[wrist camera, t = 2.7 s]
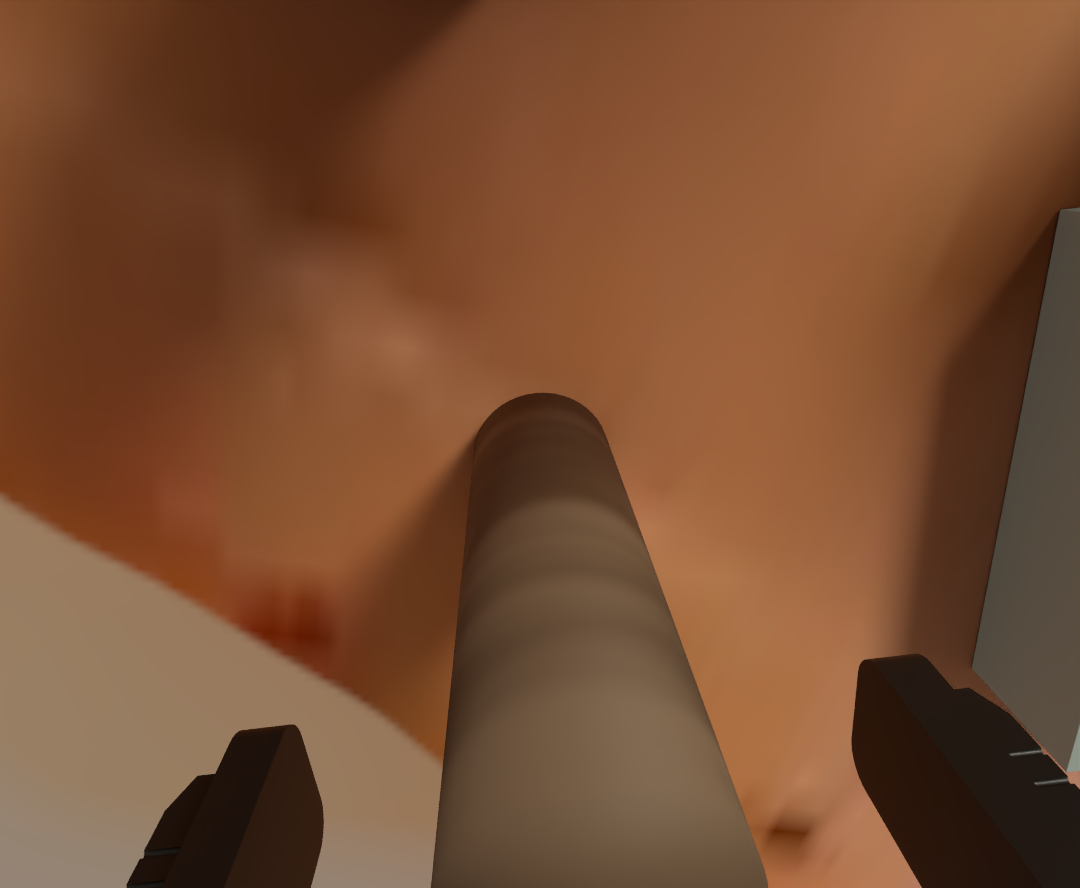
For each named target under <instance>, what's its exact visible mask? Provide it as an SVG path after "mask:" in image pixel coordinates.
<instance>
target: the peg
mask: <svg viewBox="0 0 1080 888" xmlns="http://www.w3.org/2000/svg"><path fill="white" fill-rule="evenodd" d="M439 802H440V803H439V812H438V822H437V832H436V843H435V852H434V862H433V873H432V883H431V888H768V882H767V878H766V874H765V870H764V867H763V864H762V862H761V859H760V856H759V853H758V851H757V848H756V845H755V843H754V840H753V837H752V834H751V832H750V829H749V826H748V823H747V821H746V818H745V815H744V812H743V810H742V807H741V804H740V802H739V799H738V796H737V793H736V791H735V788H734V785H733V782H732V780H731V777H730V774H729V771H728V769H727V766H726V763H725V761H724V758H723V755H722V752H721V750H720V747H719V744H718V741H717V739H716V736H715V733H714V730H713V728H712V725H711V722H710V720H709V717H708V714H707V711H706V709H705V706H704V703H703V700H702V698H701V695H700V692H699V690H698V687H697V684H696V681H695V679H694V676H693V673H692V670H691V668H690V665H689V662H688V659H687V657H686V654H685V651H684V649H683V646H682V643H681V640H680V638H679V635H678V632H677V629H676V627H675V624H674V621H673V618H672V616H671V613H670V610H669V608H668V605H667V602H666V599H665V597H664V594H663V591H662V588H661V586H660V583H659V580H658V577H657V575H656V572H655V569H654V567H653V564H652V561H651V558H650V556H649V553H648V550H647V547H646V545H645V542H644V539H643V536H642V534H641V531H640V528H639V526H638V523H637V520H636V517H635V515H634V512H633V509H632V506H631V504H630V501H629V498H628V495H627V493H626V490H625V487H624V485H623V482H622V479H621V476H620V474H619V471H618V468H617V465H616V463H615V460H614V457H613V455H612V452H611V449H610V446H609V444H608V441H607V438H606V435H605V433H604V431H603V428H602V426H601V425H600V423H599V421H598V420H597V419H596V417H595V416H594V415H593V414H592V413H591V412H590V411H589V410H588V409H587V408H586V407H584V406H583V405H581V404H580V403H578V402H576V401H574V400H572V399H570V398H568V397H565V396H562V395H557V394H551V393H534V394H528V395H524V396H520V397H517V398H515V399H512V400H510V401H508V402H507V403H505V404H503V405H502V406H500V407H499V408H498V409H496V410H495V411H494V412H493V413H492V414H491V415H490V416H489V417H488V418H487V420H486V421H485V423H484V424H483V426H482V427H481V429H480V431H479V433H478V436H477V439H476V443H475V447H474V457H473V467H472V477H471V487H470V497H469V507H468V517H467V528H466V538H465V548H464V558H463V568H462V578H461V588H460V599H459V609H458V619H457V629H456V639H455V649H454V659H453V670H452V680H451V690H450V700H449V710H448V720H447V730H446V740H445V751H444V761H443V771H442V781H441V791H440V801H439Z"/></svg>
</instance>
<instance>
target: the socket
mask: <svg viewBox="0 0 1080 888" xmlns="http://www.w3.org/2000/svg"><path fill="white" fill-rule="evenodd" d="M972 669H973V670H974V672H975V673H976V674H977V675H978V676H979V677H980V678H981V679H982V680H983V681H984V683H985V684H986V685H987V686H988V687H989V688H990V689H991V690H992V691H993V692H994V693H995V695H996V696H997V697H998V698H999V699H1000V700H1001V701H1002V702H1003V703H1004V704H1005V706H1006V707H1007V708H1008V709H1009V710H1010V711H1011V712H1012V713H1013V714H1014V715H1015V716H1016V718H1017V719H1018V720H1019V721H1020V722H1021V723H1022V724H1023V725H1024V726H1025V727H1026V729H1027V730H1028V731H1029V732H1030V733H1031V734H1032V735H1033V736H1034V737H1035V738H1036V739H1037V741H1038V742H1039V743H1040V744H1041V745H1042V746H1043V747H1044V748H1045V749H1046V750H1047V752H1048V753H1049V754H1050V755H1051V756H1052V757H1053V758H1054V759H1055V760H1056V761H1057V762H1058V764H1059V765H1060V766H1061V767H1062V768H1063V769H1064V770H1065V771H1066V772H1073V771H1080V208H1072V209H1062V210H1060V213H1059V218H1058V223H1057V228H1056V233H1055V239H1054V244H1053V249H1052V254H1051V259H1050V265H1049V270H1048V275H1047V280H1046V285H1045V291H1044V296H1043V301H1042V306H1041V311H1040V317H1039V322H1038V327H1037V332H1036V337H1035V342H1034V348H1033V353H1032V358H1031V363H1030V368H1029V374H1028V379H1027V384H1026V389H1025V394H1024V400H1023V405H1022V410H1021V415H1020V420H1019V425H1018V431H1017V436H1016V441H1015V446H1014V451H1013V457H1012V462H1011V467H1010V472H1009V477H1008V483H1007V488H1006V493H1005V498H1004V503H1003V508H1002V514H1001V519H1000V524H999V529H998V534H997V540H996V545H995V550H994V555H993V560H992V566H991V571H990V576H989V581H988V586H987V591H986V597H985V602H984V607H983V612H982V617H981V623H980V628H979V633H978V638H977V643H976V649H975V654H974V659H973V664H972Z"/></svg>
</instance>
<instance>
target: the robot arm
mask: <svg viewBox="0 0 1080 888" xmlns="http://www.w3.org/2000/svg"><path fill="white" fill-rule="evenodd" d="M852 752H853V758H854V762H855V766H856V769H857V772H858V775H859V778H860V780H861V782H862V785H863V787H864V788H865V790H866V792H867V794H868V796H869V797H870V799H871V801H872V802H873V804H874V806H875V808H876V809H877V811H878V813H879V814H880V816H881V818H882V820H883V821H884V823H885V825H886V827H887V828H888V830H889V832H890V833H891V835H892V837H893V839H894V840H895V842H896V844H897V845H898V847H899V849H900V851H901V852H902V854H903V856H904V858H905V859H906V861H907V863H908V864H909V866H910V868H911V870H912V871H913V873H914V875H915V876H916V878H917V880H918V882H919V883H920V885H921V887H922V888H1080V789H1079V788H1078V787H1077V786H1076V785H1075V784H1070V783H1069V781H1068V778H1067V775H1066V774H1065V773H1064V772H1063V771H1062V770H1061V769H1060V768H1059V767H1058V765H1057V764H1056V763H1055V762H1054V761H1053V760H1052V759H1051V758H1050V757H1049V756H1048V755H1044V754H1043V753H1042V751H1041V747H1040V746H1039V745H1038V744H1037V743H1036V742H1035V741H1034V739H1033V738H1032V737H1031V736H1030V735H1029V734H1028V733H1027V732H1026V731H1025V730H1024V729H1023V728H1022V726H1021V725H1020V724H1019V723H1018V722H1017V721H1016V720H1015V719H1014V718H1013V717H1012V716H1011V715H1010V714H1009V713H1008V712H1006V711H1004V710H1003V709H1001V708H1000V707H998V706H997V705H995V704H994V703H992V702H990V701H989V700H987V699H986V698H984V697H983V696H981V695H980V694H978V693H976V692H975V691H973V690H972V689H970V688H963V689H953V688H952V687H951V686H950V685H949V683H948V682H947V681H946V680H945V679H944V678H943V676H942V675H941V674H940V673H939V672H938V671H937V669H936V668H935V667H934V666H933V665H932V664H931V663H930V661H929V660H928V659H926V658H925V657H924V656H922V655H920V654H910V655H901V656H893V657H884V658H875V659H867V660H863V661H862V662H861V664H860V666H859V670H858V679H857V689H856V699H855V709H854V720H853V730H852ZM323 824H324V819H323V806H322V801H321V797H320V794H319V791H318V788H317V784H316V781H315V778H314V775H313V771H312V768H311V765H310V762H309V758H308V755H307V752H306V749H305V745H304V742H303V739H302V736H301V733H300V731H299V729H298V728H297V726H295V725H284V726H275V727H266V728H258V729H249V730H241V731H239V732H238V733H236V734H235V735H234V737H233V738H232V740H231V742H230V744H229V746H228V748H227V750H226V752H225V754H224V757H223V759H222V761H221V763H220V765H219V767H218V769H217V771H216V774H210V775H201V776H197V777H196V778H195V779H194V780H193V781H192V782H191V783H190V785H189V786H188V787H187V788H186V789H185V790H184V791H183V792H182V793H181V794H180V795H179V796H178V798H177V799H176V800H175V801H174V802H173V803H172V804H171V805H170V806H169V807H168V808H167V809H166V810H165V812H164V814H163V816H162V818H161V819H160V821H159V823H158V825H157V827H156V829H155V831H154V833H153V835H152V837H151V839H150V841H149V843H148V844H147V846H146V848H145V850H144V852H145V854H144V858H143V859H140V860H139V862H138V864H137V866H136V867H135V870H134V871H133V873H132V875H131V877H130V879H129V881H128V883H127V888H311V884H312V881H313V877H314V873H315V869H316V866H317V862H318V858H319V854H320V850H321V845H322V838H323Z"/></svg>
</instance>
